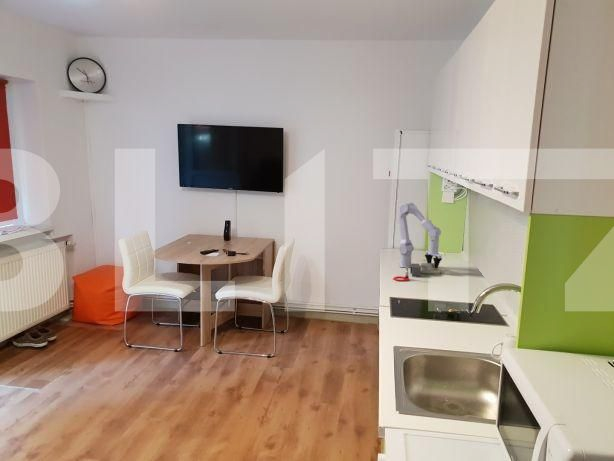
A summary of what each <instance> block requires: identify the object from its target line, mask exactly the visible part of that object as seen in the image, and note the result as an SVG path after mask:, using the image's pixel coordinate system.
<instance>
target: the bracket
mask: <svg viewBox="0 0 614 461" xmlns="http://www.w3.org/2000/svg"><path fill="white" fill-rule="evenodd" d="M420 266H421V265H420V263H413V262H411V268H409V270H410V272H409V273H410V274H411V277H412V278H421V277H422V276H421V274H422V273H421V267H420Z"/></svg>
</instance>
